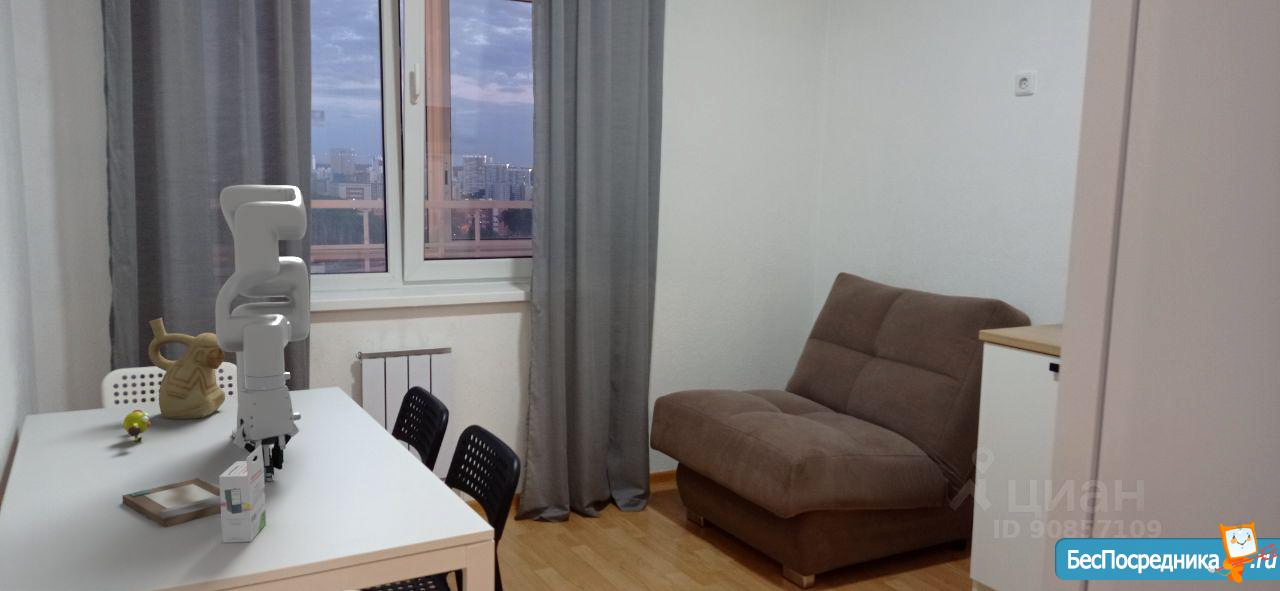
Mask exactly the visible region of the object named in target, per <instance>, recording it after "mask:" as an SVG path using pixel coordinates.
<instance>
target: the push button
mask: <svg viewBox="0 0 1280 591" xmlns="http://www.w3.org/2000/svg"><path fill="white" fill-rule="evenodd" d="M277 437H278V436H275V437H270V438H266V439H263V440H262V441H261V446H262V454H263V460H264V482H265V481H266V482H267V481H273V477H275V468H274V466H273V465H274V459H273V458H271V448H270V447H271V446H274V443H275V442H277V440H278V438H277ZM253 443H254V442H253Z"/></svg>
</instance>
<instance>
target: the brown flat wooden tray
mask: <svg viewBox="0 0 1280 591" xmlns="http://www.w3.org/2000/svg"><path fill="white" fill-rule="evenodd" d="M122 504H124V505H125V506H127V507H129V508H130V509H132V510H134V511H136V512H137V513H139V514H141V515H143V516H144V517H146V518H147V519H149V520H151V521H152V522H154V523H156V524H158V525H160V526H161V527H163V528H166V527H170V526H174V525H178V524H181V523H185V522H189V521H193V520H196V519H199V518H204V517H207V516H208V517H209V516H212V515H215V514H219V513H220V514H221V502H220V487H217V486H215V485H213V484H211V483H209V482H206V481H204V480H203V479H200V478H199V477H198V478H197V477H196V478H193V479H188V480H183V481H179V482H175V483H170V484H166V485H162V486H157V487H152V488H148V489H145V490H138V491H135V492H129V493H126V494H122Z"/></svg>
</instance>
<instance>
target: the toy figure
mask: <svg viewBox="0 0 1280 591" xmlns="http://www.w3.org/2000/svg"><path fill="white" fill-rule="evenodd" d="M149 416H150V415H149V413H147V412H143V411H142V410H141V409H135V410H133V411H132V412H130V413H128V414H127V415H126V416H125V417H124V420H123V428H124V430H125V431H126V432H127V434H129V436H131V437H134V442H140V441H142V439H143V437H142V436H140V434H142V433H144V432H145V431H146V430H148V429H149V428H151V425H152V424H151V422H150V419H149ZM139 436H140V437H139Z"/></svg>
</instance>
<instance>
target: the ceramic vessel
mask: <svg viewBox="0 0 1280 591" xmlns="http://www.w3.org/2000/svg"><path fill="white" fill-rule="evenodd" d="M148 323H149V325H150V327H151V329H152V332H153V335H154V338H152V340H151V342H150V343H149V346H148V352H147V353H148V357H149V360H150V361H151V362H152V364H153V365H154V366H155V367H157V368H158V369H160V370H162V371H165V373H164V375H163V377H162V380H161V383H160V386H159V391H158V392H159V393H158V406H159V411H160V412H161V415H162V416H163V417H164V418H166V419H171V420H172V419H173V420H190V419H191V420H193V419H202V418H205V417H207V416H210V415H211V414H213V413H215V411H217V410H219V409H220V407H221V406H222V405H223V404H224V402H225V400H226V394H225V392H224V390H223V389H222V388H221V387H220V386H219V385H218V384H217V376H216V370H217V369H219V367H220V366H221V365H222V364H223V363H224V362H223V361H224V360H226V354H225V353H224V350H222V349H221V348H220V347H219V345H218V343H217V338H216V333H213V332H203V333H200V334H198V335H197V336H192V335H189V334H185V333H178V332H177V333H175V332H173V333H167V332H166V329H165V326H164V322H163V317H160V318H156V319H153V320H150V321H149V322H148ZM170 343H173V344H174V343H177V344H178V343H179V344H182V345H184V346H186V347H187V349H186V351H185V352H184V353H183V354H182V356H179V358H178V359H177V360H170V359H166V358H165V357H164V356H162V354H161V351H160V350H161V347H162V346H164V345H167V344H170Z"/></svg>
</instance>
